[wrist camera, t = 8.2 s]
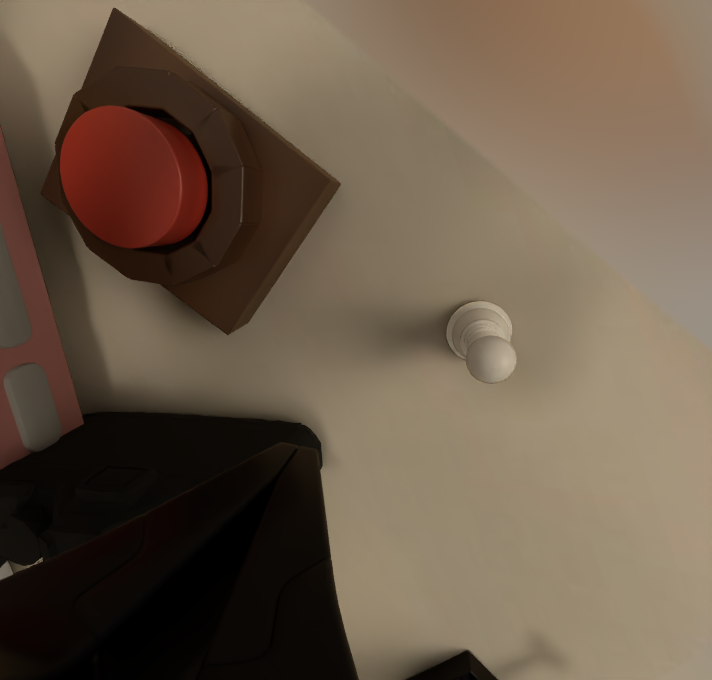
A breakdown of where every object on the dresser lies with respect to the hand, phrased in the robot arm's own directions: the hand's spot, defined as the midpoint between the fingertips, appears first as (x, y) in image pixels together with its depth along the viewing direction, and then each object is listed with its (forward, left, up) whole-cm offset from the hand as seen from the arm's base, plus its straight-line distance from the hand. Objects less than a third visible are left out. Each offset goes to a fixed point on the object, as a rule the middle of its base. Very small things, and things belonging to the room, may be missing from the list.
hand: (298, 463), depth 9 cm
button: (-8, +5, -7) cm, 12 cm away
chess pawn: (+5, +1, -11) cm, 12 cm away
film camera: (-8, -10, -10) cm, 16 cm away
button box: (-8, +5, -11) cm, 15 cm away
